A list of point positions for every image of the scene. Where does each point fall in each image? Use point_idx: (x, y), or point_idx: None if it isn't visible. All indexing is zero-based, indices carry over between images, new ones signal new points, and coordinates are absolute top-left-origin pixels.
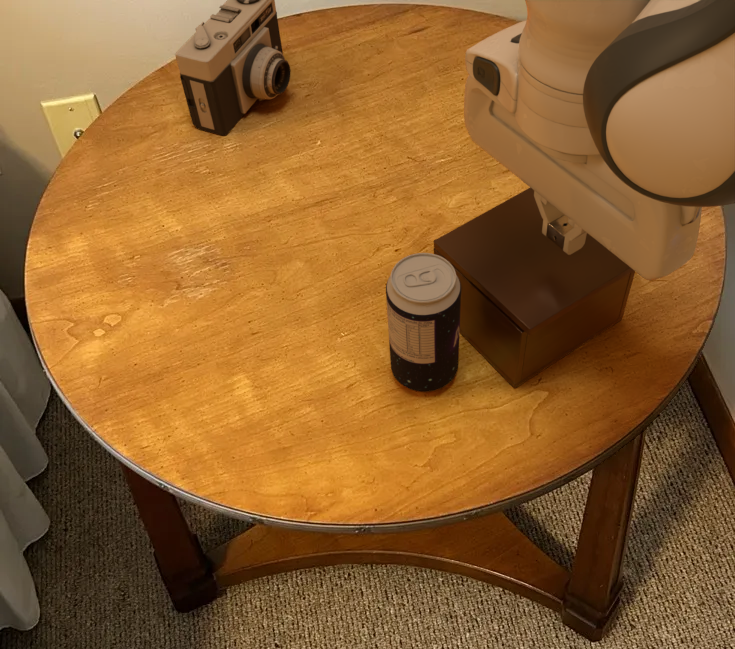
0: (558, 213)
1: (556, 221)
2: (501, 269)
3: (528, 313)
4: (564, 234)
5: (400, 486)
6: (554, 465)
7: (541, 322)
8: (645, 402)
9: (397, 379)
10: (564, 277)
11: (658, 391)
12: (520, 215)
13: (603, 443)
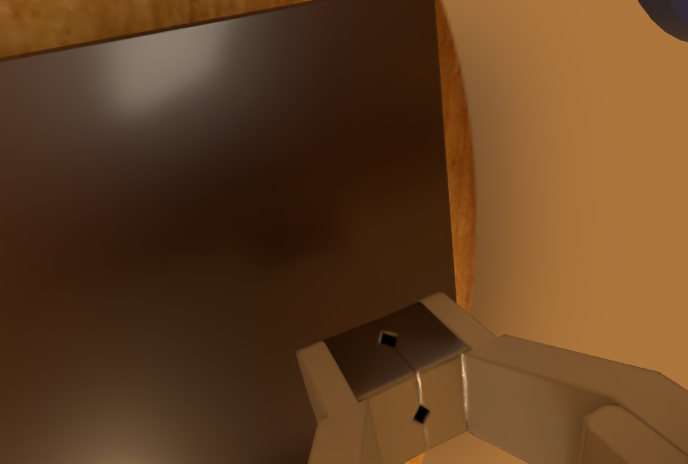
0: (373, 452)
1: (389, 446)
2: (270, 430)
3: None
4: (465, 427)
5: None
6: (463, 271)
7: None
8: (452, 97)
9: None
10: (376, 286)
11: (447, 62)
12: (19, 334)
13: (471, 197)
